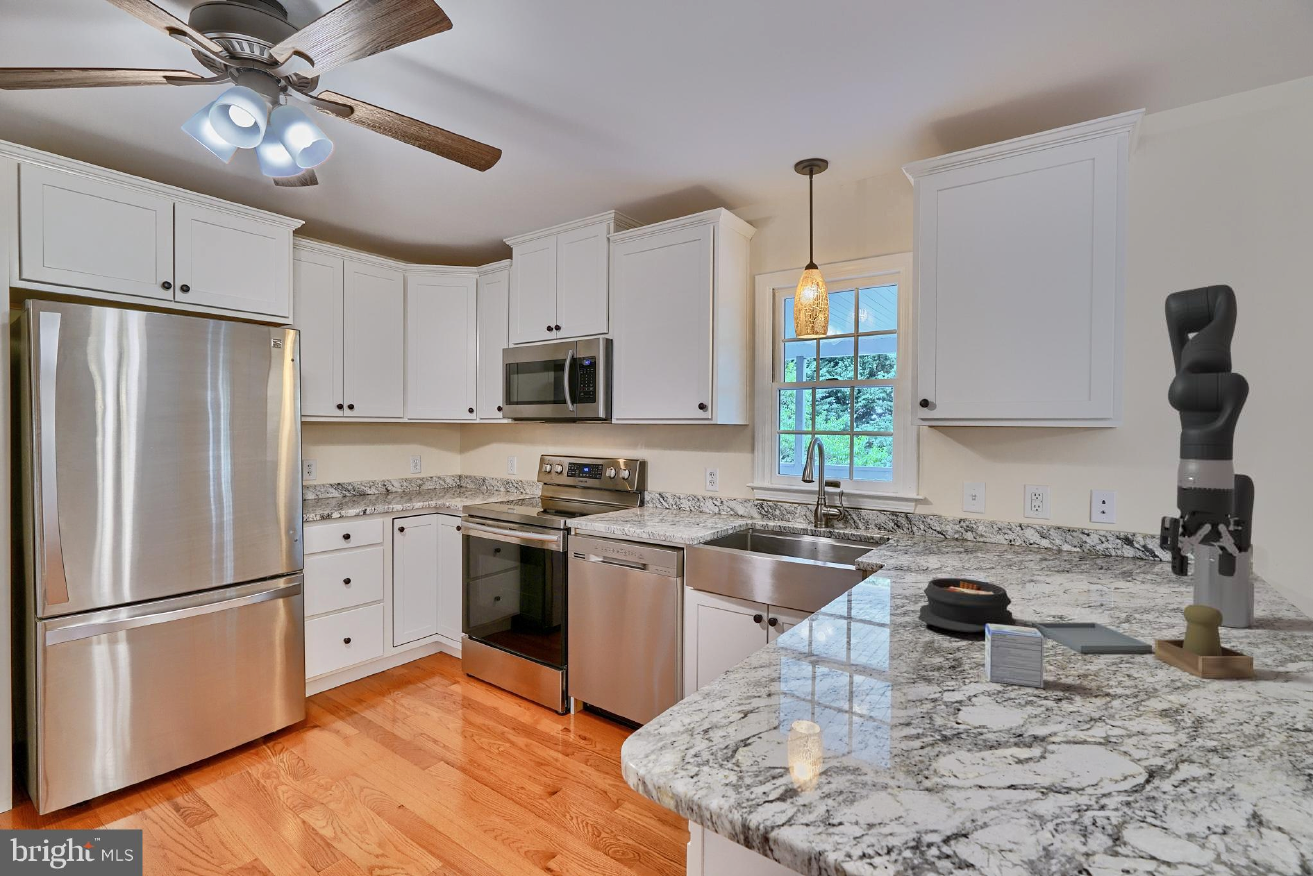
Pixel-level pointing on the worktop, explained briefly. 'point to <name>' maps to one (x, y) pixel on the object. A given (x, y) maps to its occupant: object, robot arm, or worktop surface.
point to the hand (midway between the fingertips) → (1202, 575)
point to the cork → (1202, 630)
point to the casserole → (965, 605)
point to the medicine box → (1014, 655)
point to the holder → (1204, 660)
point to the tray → (1091, 638)
